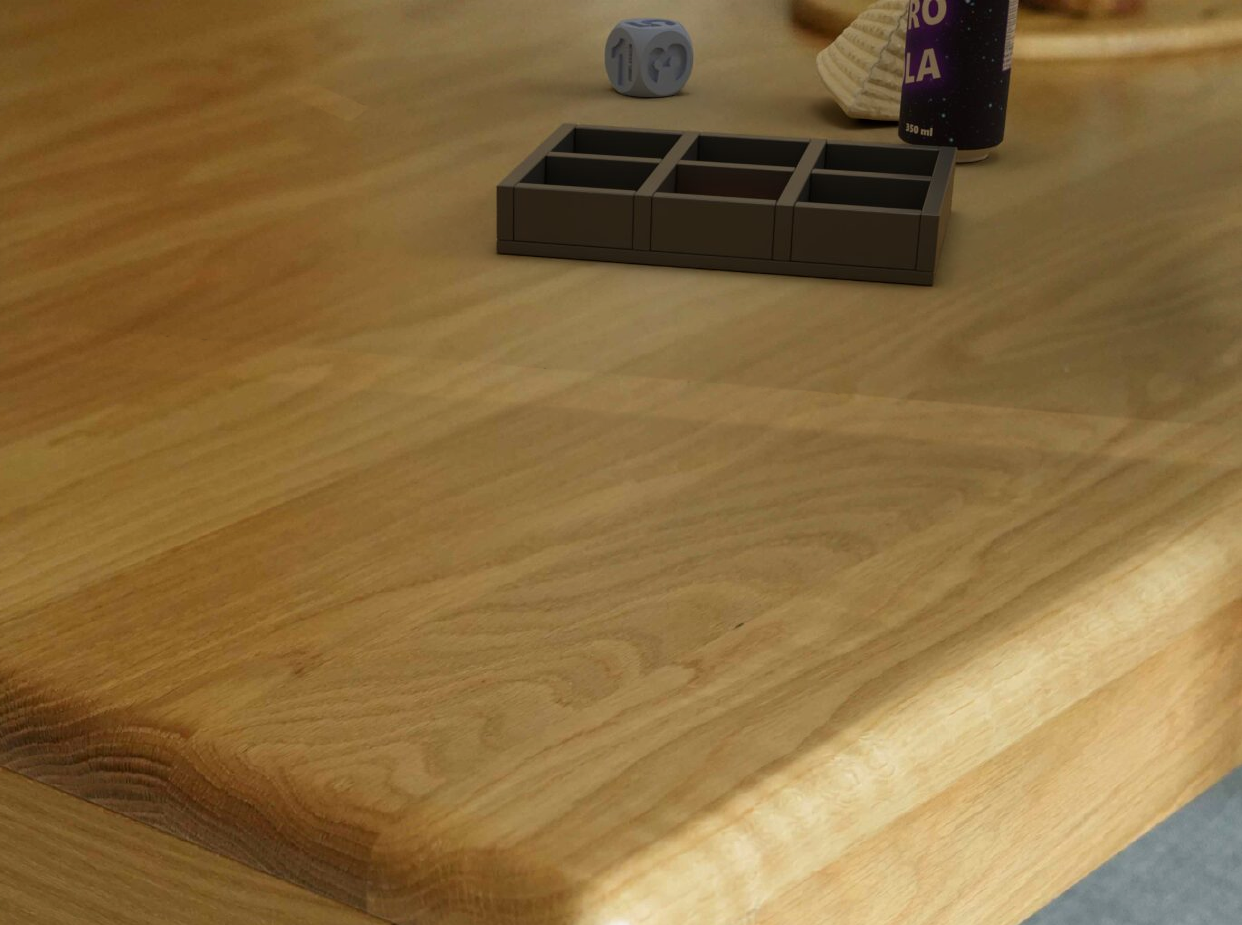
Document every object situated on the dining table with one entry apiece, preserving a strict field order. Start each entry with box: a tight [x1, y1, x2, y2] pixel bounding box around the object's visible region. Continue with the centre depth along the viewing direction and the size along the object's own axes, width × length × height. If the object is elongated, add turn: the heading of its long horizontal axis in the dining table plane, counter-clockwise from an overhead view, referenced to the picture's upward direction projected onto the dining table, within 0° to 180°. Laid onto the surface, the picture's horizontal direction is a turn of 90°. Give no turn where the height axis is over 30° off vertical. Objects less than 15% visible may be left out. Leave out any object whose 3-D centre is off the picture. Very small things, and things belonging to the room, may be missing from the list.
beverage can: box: [897, 0, 1019, 163], centre depth 110 cm, size 6×6×12 cm
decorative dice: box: [604, 17, 694, 98], centre depth 126 cm, size 4×4×4 cm
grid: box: [495, 122, 957, 286], centre depth 97 cm, size 20×13×3 cm
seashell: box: [815, 0, 909, 122], centre depth 121 cm, size 8×8×8 cm
